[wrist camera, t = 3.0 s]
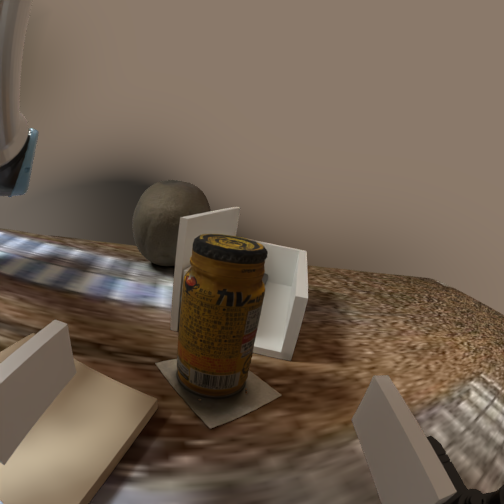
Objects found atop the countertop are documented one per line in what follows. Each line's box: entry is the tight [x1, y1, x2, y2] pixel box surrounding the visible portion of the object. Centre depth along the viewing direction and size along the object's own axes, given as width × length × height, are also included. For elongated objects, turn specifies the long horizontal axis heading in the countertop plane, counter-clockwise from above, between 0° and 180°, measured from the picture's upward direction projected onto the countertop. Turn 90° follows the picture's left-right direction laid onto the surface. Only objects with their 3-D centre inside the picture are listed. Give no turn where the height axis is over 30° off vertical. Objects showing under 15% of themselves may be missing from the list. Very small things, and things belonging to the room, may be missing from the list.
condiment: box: [155, 234, 281, 428], centre depth 20 cm, size 7×8×12 cm
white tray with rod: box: [170, 207, 308, 361], centre depth 36 cm, size 13×22×12 cm, turn 169°
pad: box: [0, 333, 158, 504], centre depth 11 cm, size 14×14×1 cm
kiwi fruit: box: [132, 180, 210, 266], centre depth 46 cm, size 14×14×15 cm
